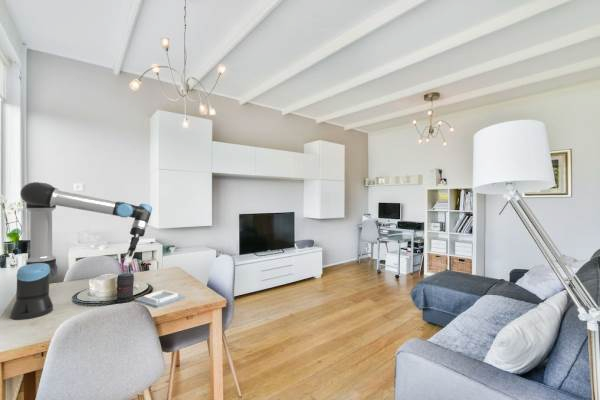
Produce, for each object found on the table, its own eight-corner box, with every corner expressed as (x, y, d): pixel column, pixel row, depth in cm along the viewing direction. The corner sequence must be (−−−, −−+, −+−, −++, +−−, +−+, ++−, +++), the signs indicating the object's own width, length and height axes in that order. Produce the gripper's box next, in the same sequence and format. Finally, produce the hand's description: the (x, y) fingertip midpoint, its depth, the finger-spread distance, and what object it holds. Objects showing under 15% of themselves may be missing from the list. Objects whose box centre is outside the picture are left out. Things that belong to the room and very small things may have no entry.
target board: (134, 300, 159) (134, 296, 159) (163, 292, 174) (163, 287, 174) (157, 308, 149) (157, 302, 149) (185, 298, 165) (185, 293, 165)
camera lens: (125, 304, 153) (126, 276, 153) (112, 302, 155) (113, 275, 155) (136, 299, 161) (137, 273, 161) (124, 298, 163) (125, 272, 163)
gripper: (148, 225, 162) (136, 262, 153) (142, 234, 181) (131, 267, 172) (134, 222, 158) (121, 259, 149) (129, 231, 177) (117, 265, 168)
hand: (126, 264), depth 161 cm, fingers open, 13 cm apart
